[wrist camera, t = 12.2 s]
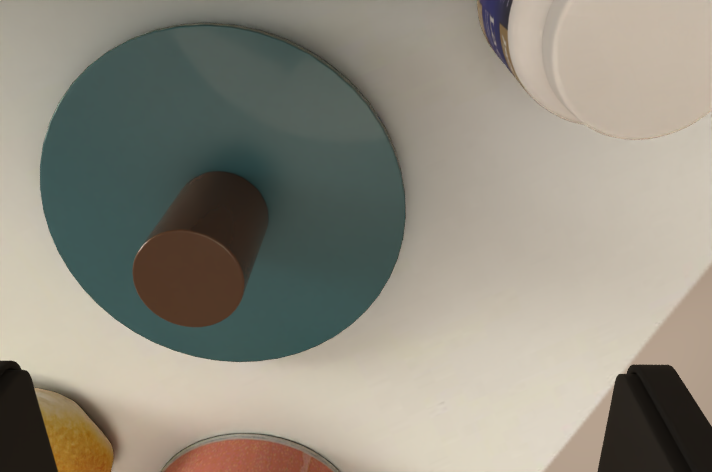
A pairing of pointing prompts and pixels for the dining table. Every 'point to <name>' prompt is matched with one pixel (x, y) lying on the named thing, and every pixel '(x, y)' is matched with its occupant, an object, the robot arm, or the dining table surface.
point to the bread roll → (73, 435)
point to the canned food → (247, 456)
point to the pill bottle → (609, 60)
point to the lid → (223, 192)
